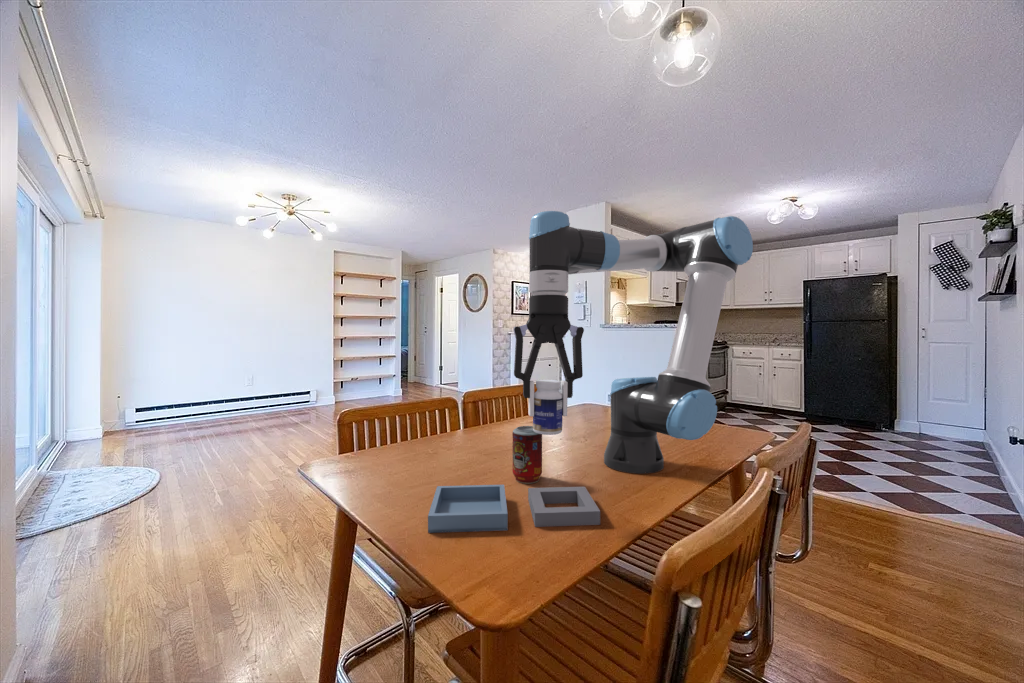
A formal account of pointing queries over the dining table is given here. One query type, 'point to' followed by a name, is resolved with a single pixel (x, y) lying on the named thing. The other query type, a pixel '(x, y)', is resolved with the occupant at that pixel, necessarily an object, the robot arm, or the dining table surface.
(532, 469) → the soda can
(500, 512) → the parts tray
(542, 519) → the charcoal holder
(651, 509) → the dining table surface
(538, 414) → the pill bottle
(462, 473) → the dining table surface
